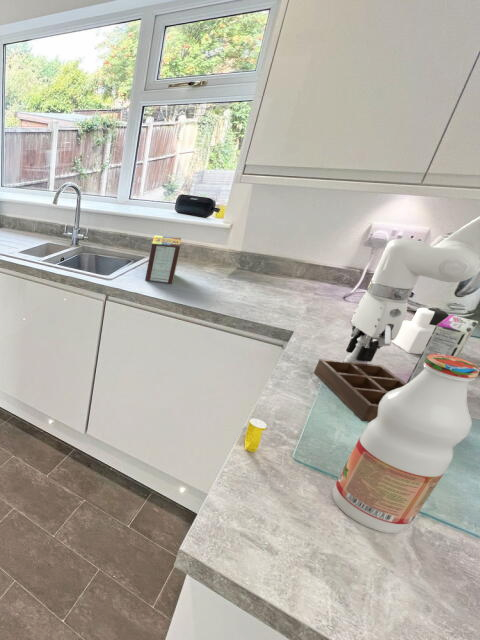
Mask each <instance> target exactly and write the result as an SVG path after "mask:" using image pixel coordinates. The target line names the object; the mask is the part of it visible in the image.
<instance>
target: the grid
mask: <svg viewBox="0 0 480 640" xmlns="http://www.w3.org/2000/svg"><path fill="white" fill-rule="evenodd" d="M313 374H314V375H315V376H316V377H317V378H318V379H319V380H320V381H321V382H322V383H323V384H324V385H325V386H326V387H327V388H328V389H329V390H330V391H331V392H332V393H333V394H334V395H335V396H336V397H337V398H338V399H339V400H340V401H341V402H342V403H343V404H344V405H345V406H346V407H347V408H348V409H349V410H350V411H351V412H352V413H353V414H354V415H355V416H356V417H357V418H358V419H359V420H360V421H361V422H364V423H365V422H366V423H369V422H370V421H372V420H373V419H375V418H376V417H377V414H378V405H379V402H380V401H381V399H382V398H383V396H384V395H385V394H386V393H388V392H390V391H392V390H394V389H397V388H400V387H403V386H404V385H406V384H407V382H405V381H403V380H402V379H401V378H400V377H398V376H397V375H396V374H394V373H393V372H391V371H390V370H389V369H387V368H386V367H385V366H384V365H382V364H381V365H380V364H374V363H373V364H372V363H367V364H363V363H353V362H345V361H342V360H333V359H332V360H331V359H322V358H319V360H318V362H317V364H316V366H315V369H314V371H313Z"/></svg>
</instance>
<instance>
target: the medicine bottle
mask: <svg viewBox="0 0 480 640" xmlns="http://www.w3.org/2000/svg"><path fill="white" fill-rule="evenodd" d="M449 315H450V314H449V313H447V312H445V310H441V309H438V308H435V307H419V308H418V309H416V312H415V314H414V315H413V318H412V319H411V320H405V319H404V321H403V323H402V326H401V328H400V331H399V333H398V335H397V337H396V338H395V339H394V340H391V343H392V344H394V345H396V346H397V347H398V348H400V349H402V350H403V351H404V352H406V353H408V354H411V355H412V354H415V355H422V353H423V351H424V349H425V347H426V345H427V343H428V341H429V339H430V337H431V335H432V333H433V331H434V329H435V327H436V325H438V324H439V323H440V322H442V321H443V320H444V319H446V318H447V317H448V316H449Z"/></svg>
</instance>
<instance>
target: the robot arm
mask: <svg viewBox="0 0 480 640" xmlns="http://www.w3.org/2000/svg"><path fill="white" fill-rule="evenodd" d="M479 271H480V216H478V217H476V218H475V219H473V220H471V221H470V222H468V223H467V224H465V225H463V226H462V227H461V228H459V229H458V230H456V231H454V232H453V233H451V234H450V235H449V236H447V237H446V238H444V239H443V240H441V241H440V242H438V243H437V244H436V245H434V246H433V245H431V244H430V243H428V242H426V241H422V240H418V239H411V238H395V239H392V240H390V241H389V242H388V243H387V244H386V246H385V248H384V250H383V252H382V255H381V257H380V259H379V262H378V264H377V266H376V268H375V271H374V272H373V275H372V278H371V280H370V283H369V285H368V286H367V289H366V291H365V293H364V294H363V296H362V297H361V299H360V301H359V302H358V304H357V306H356V308H355V310H354V312H353V315H352V318H351V320H350V325H351V328H352V329H351V330H352V332H351V334H350V341H349V343H348V344H347V347H346V350H345V352H347V353H349V354H351V353H352V352H353V350H354V349H355V348H356V344H357V343H358V341H357V338H360V336H366V338H367V339H366V342H365V345H364V346H361V348H360V351H359V353H358V355H357V357H356V359H357V360H358V361H367V363H370V362H372V361H373V359H374V357H375V355H376V353H377V351H378V350H380V349H381V348H383V347H389V346H391V345H392V344H391V343H392V340H394V339H395V338H396V337H397V335H398V333H399V331H400V328H401V326H402V323H403V321H404V320H405V317H406V315H407V311H408V308H409V307H408V306H409V302H408V300H409V299H410V296H411V295H412V292H413V291H414V288H415V286H416V284H417V282H418V280H419V278H420V276H422V277H426V278H429V279H432V280H434V281H435V280H436V281H438V282H439V281H440V282H445V283H460V282H464V281H467V280H470V279H471V278H473V277H475V276H476V275H477V274H478V273H479ZM372 339H373V342H372Z"/></svg>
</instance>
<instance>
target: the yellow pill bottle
mask: <svg viewBox="0 0 480 640" xmlns="http://www.w3.org/2000/svg"><path fill="white" fill-rule="evenodd" d="M267 426H268V425H267V423H266V422H264V421H263V420H262V419H259V418H251V419H249V421H248V426H247V429H246V434H245V437H244V450H245V451H248V452H251V453H256V452H257V450H258V448H259V446H260V443H261V439H262V434H263V431H266V430H267Z"/></svg>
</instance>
